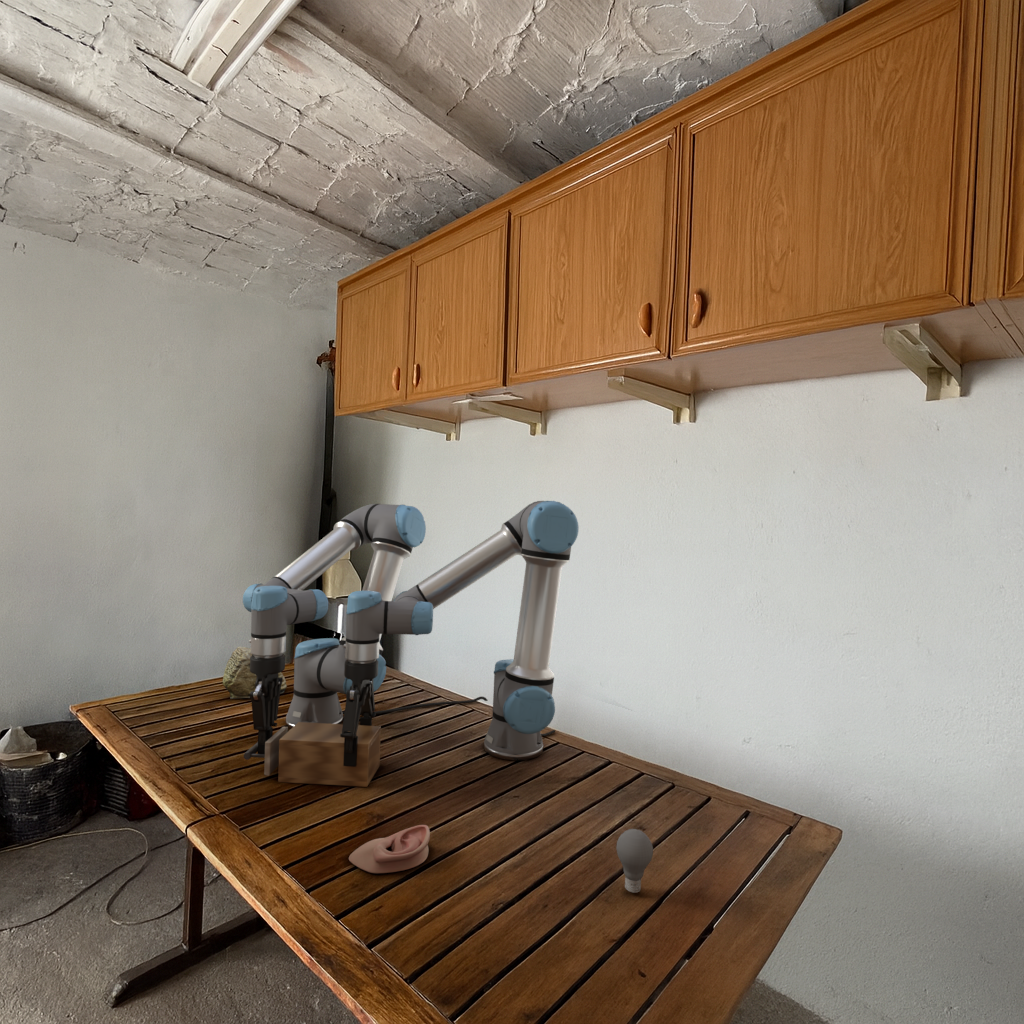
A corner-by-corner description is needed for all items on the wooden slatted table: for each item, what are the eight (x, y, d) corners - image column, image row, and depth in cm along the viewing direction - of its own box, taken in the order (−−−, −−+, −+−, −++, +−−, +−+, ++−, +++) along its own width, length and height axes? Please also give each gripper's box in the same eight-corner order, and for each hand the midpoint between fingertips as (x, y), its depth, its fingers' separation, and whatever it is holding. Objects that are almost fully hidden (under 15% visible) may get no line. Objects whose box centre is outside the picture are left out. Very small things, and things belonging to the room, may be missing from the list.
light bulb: (610, 879, 108) (613, 822, 108) (644, 879, 109) (647, 822, 109) (619, 902, 102) (622, 840, 102) (655, 901, 103) (658, 840, 103)
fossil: (218, 695, 195) (220, 647, 195) (278, 685, 208) (279, 640, 207) (228, 703, 189) (230, 653, 188) (289, 692, 201) (290, 645, 201)
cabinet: (278, 782, 140) (279, 739, 140) (297, 761, 151) (298, 721, 151) (367, 786, 139) (368, 744, 139) (379, 765, 150) (380, 726, 150)
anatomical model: (341, 845, 108) (369, 813, 120) (340, 868, 108) (368, 833, 120) (414, 857, 106) (436, 823, 117) (413, 880, 106) (435, 844, 117)
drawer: (240, 774, 141) (241, 741, 141) (260, 756, 151) (261, 725, 150) (346, 779, 140) (347, 746, 140) (359, 761, 150) (359, 730, 149)
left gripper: (263, 646, 152) (260, 744, 152) (238, 660, 139) (235, 767, 139) (294, 648, 151) (291, 746, 152) (272, 662, 138) (269, 769, 139)
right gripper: (360, 646, 156) (356, 734, 156) (328, 672, 133) (324, 776, 133) (390, 648, 156) (386, 736, 156) (363, 674, 132) (359, 778, 133)
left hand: (264, 756), depth 145 cm, fingers closed
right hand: (357, 755), depth 145 cm, fingers closed on cabinet, 11 cm apart
